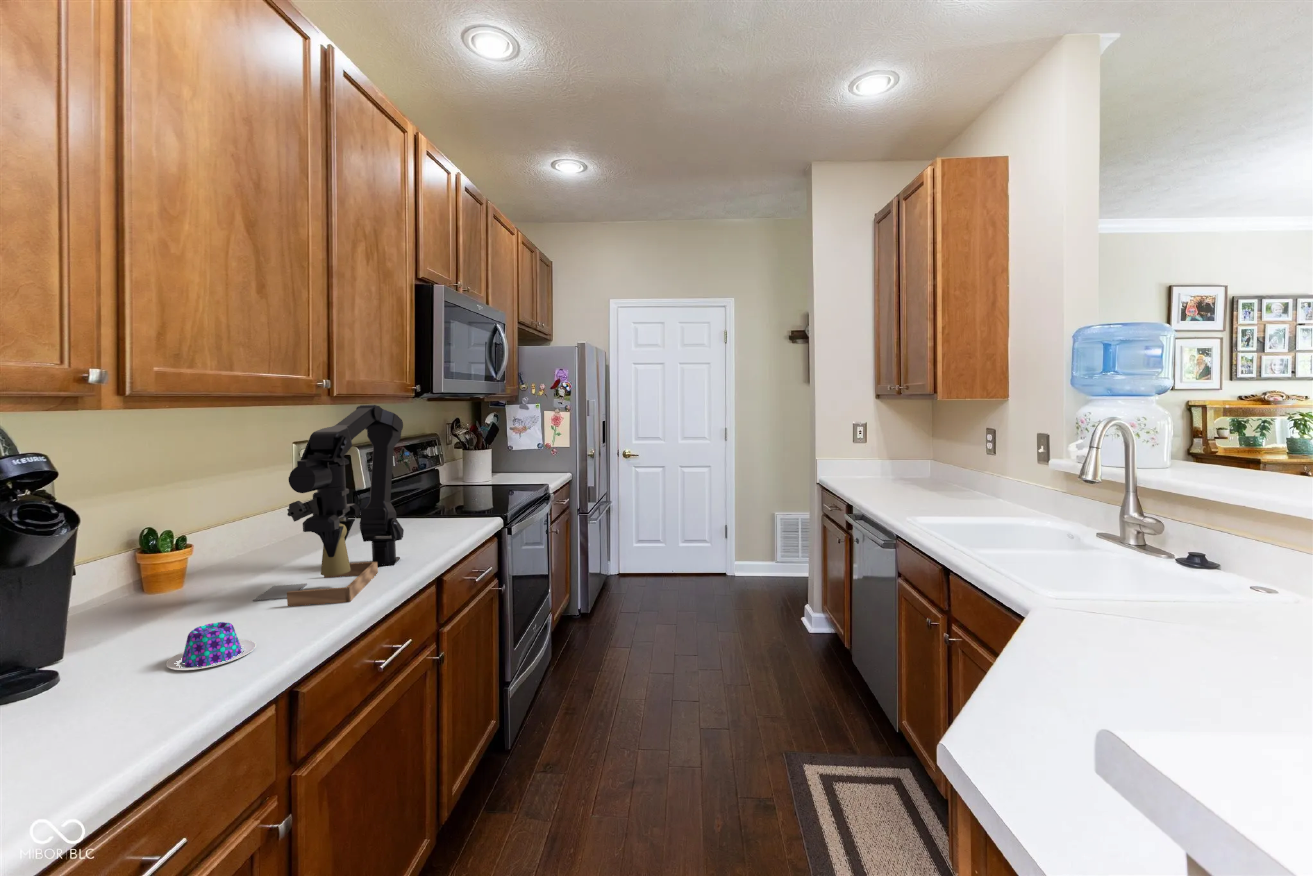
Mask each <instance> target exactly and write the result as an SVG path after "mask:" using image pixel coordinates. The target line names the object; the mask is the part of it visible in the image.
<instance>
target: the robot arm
mask: <svg viewBox="0 0 1313 876" xmlns="http://www.w3.org/2000/svg"><path fill="white" fill-rule="evenodd" d="M403 428H404V422H403V419H402V418H401V417H400V416H399V415H398V414H396V413H395V412H392V411H389V410H387V409H384V408H383V407H381V406H380V405H377V404H361V405H358V406H356V408H355V410H353V411H352V412H350V413H349V414H348V415H347V416H345V417H344V418H343V419H341V420H340V421H338V423H336V424H334V425H332V426H328V427H324V428H320V429H318V430H315V431H313V432H312V433H311V434H310V436H309V438H308V441H307V443H306V445H305V448H304V450H303V453H302V455H301V457H300V460H297V462H296V463H297V466H296V467H295V468H293V469H292V470H291V472H290V473H289V476H288V484H289V486H290V488H291V489H292V490H293V491H294V492H296V493H299V494H305V493H310V492H313V491H315V492H313V493H312V499H310V500H307V501H305V502H301V501H300V500H296V501H293V502H291V503H289V504H288V508H287V513H286V515H287V516H288V517H291V518H292V521H293V523H294V522H298V521H300V520H301V519H303V518H305V517H307V518H306V519H305V520H304V521H303V522H302V532H303V533H314V534H315V535H317V536H319V537H320V540H321V541H322V542H321V543H322V545H324V547H325V550H326V552H327V555H328V557H334V555H335V553H336V550H337V547H338V543H339V540H340V537H341V533H342V530H343V526H339V524H344V525H345V526H346V529H347V533H346V536H345V537H344V538H345V542H346V541H347V538H348V537H349V534H350V532H351V529H352V527H353V525H354V522H355V521H356V517H358V516H360V521H359V531H360V534H361V538H362V540H363V542H364V543H365V542H371V555H372V556H371V557H372V558H371V559H372V560H371V561H370V562H377V564H378V566H391V565H392V566H393V565H396V564H395V563H397V562H399V560H401V557H400V556H397V548H396V541H401V540H403V538H404V533H405V532H404V528H403V526H402V525H401V524H400V522H399V521H398V519H397V511H396V510H395V507H394V506H393V504H392V503H391V498H392V497H391V496H392V482H393V481H392V480H393V466H394V465H393V464H394V463H393V461H394V448H395V447H396V445H397V444H398V442H400V440H401V436H402V431H403ZM365 430H366V434H367V438H368V440H369V441H370V443H371V445H372V463H371V475H370V476H371V477H370V478H371V479H370V496H369V502H368V504H367V505H366V507H363V508H360V506H359V505H357V503H348V502H347V501H348V500H347V495H348V494H349V493H350V489H349V488H347V487H346V486H347V482H346V465H349V464H350V461H349V459H348V458H345V455H346V454H348V452H349V451H350V449H351V448H352V447H353V442H352V441H353V439H355V438H356V437H357V436H359V434H361V433H363V431H365ZM360 509H361V510H360ZM310 515H311V516H310ZM308 516H309V517H308ZM349 516H352V517H354V518H349Z"/></svg>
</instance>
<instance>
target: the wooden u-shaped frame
mask: <svg viewBox="0 0 1313 876" xmlns="http://www.w3.org/2000/svg"><path fill="white" fill-rule="evenodd" d="M349 563H350V568H351V570H350V571H349V572H347V573H344V574H340V575H333V576H324V575H323V578H324V579H328V578H342V576H345V577H355V579H353V580H352V581H351V582H350V583H349V584H348V585H347V586H345V587H343V586H342V587H333V588H332V587H331V588H329V587H328V588H318V589H317V588H316V589H303V590H302V589H301V590H299V591H288V592H287V599H286V603H287V605H286V606H287V607H288V606H290V607H301V606H300V605H303V606H310V605H309V604H317V605H326V604H325V603H330V604H338V603H339V604H342V603H350V602H351V601H353V600H354V598H356V597H357V595H358V594H359V593H361V591H362V590H363V589H364V588H365V587H366V586H367V585H368V584H369V583H370V582H372V580H373V579H374V578H375V577H376V576H377V575H378V574H379V571H378V570H379V569H378V568H379V567H378V564H377V562H371V561H367V562H352V563H351V562H349ZM377 573H378V574H377ZM376 574H377V575H376ZM340 576H341V577H340ZM374 576H375V577H374ZM371 579H372V580H371Z"/></svg>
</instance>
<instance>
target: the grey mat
mask: <svg viewBox="0 0 1313 876" xmlns="http://www.w3.org/2000/svg"><path fill="white" fill-rule="evenodd" d="M307 585H308V583H294V584H293V583H292V584H280V585H279V584H278V585H273V586H271V587H269V588H268V589H267V590H265V591H264V592H262V593H260V594H259V595H258V596H256V597H254V598H253V599H252V601H253V602H257V601H258V600H261V601H269V600H268V599H274V600H287V592H288V591H300V589H301V588H302V589H303V588H304V586H305V587H306V586H307ZM302 589H301V590H302Z"/></svg>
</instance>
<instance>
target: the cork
mask: <svg viewBox="0 0 1313 876" xmlns="http://www.w3.org/2000/svg"><path fill="white" fill-rule="evenodd" d="M339 526H343V530H342V533H341V537H340V540H339V543H338V547H337V550H336V553H335V555H334V557H328V555H327V552H326V550H325V547H324V545H323V544H322V545H323V547H322V557H321V567H320V575H321V576H323V577H324V576H333V575H340V574H344V573H347V572H349V571H350V570H351V568H350V563H351V562H350V560H349V555H348V549H347V545H346V541H345V538H344V537H345V536H346V533H347V529H346V526H345V525H344V524H339Z"/></svg>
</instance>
